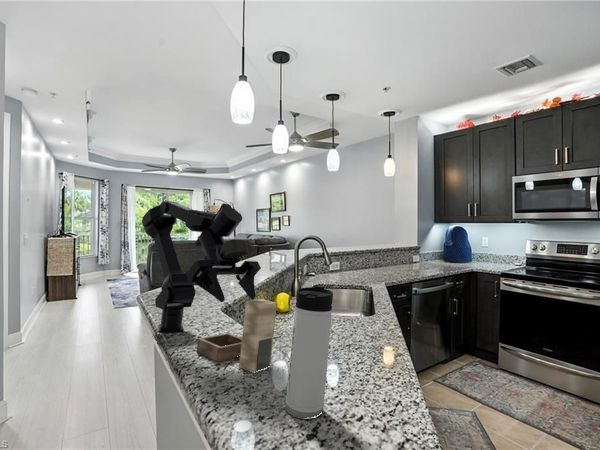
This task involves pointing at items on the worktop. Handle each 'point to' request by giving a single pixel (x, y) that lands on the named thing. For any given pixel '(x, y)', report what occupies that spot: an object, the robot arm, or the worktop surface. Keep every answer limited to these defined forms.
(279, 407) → the worktop surface
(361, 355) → the worktop surface
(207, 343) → the post socket
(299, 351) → the travel mug
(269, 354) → the block
